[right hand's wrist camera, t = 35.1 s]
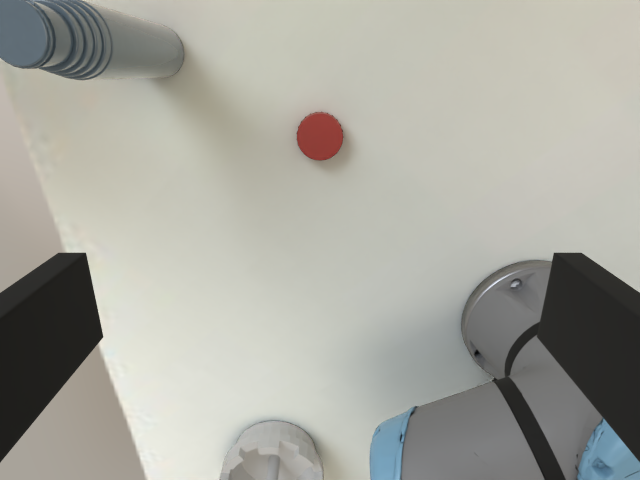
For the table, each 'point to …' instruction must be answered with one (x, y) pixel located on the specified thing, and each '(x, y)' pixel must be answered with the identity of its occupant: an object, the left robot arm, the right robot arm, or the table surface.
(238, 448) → the flag stand
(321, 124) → the cap
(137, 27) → the bottle
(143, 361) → the table surface
